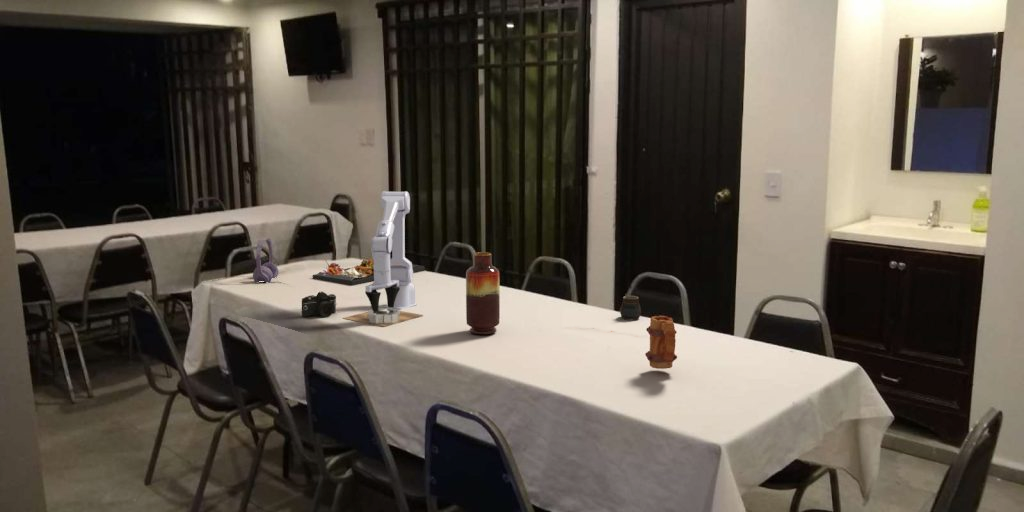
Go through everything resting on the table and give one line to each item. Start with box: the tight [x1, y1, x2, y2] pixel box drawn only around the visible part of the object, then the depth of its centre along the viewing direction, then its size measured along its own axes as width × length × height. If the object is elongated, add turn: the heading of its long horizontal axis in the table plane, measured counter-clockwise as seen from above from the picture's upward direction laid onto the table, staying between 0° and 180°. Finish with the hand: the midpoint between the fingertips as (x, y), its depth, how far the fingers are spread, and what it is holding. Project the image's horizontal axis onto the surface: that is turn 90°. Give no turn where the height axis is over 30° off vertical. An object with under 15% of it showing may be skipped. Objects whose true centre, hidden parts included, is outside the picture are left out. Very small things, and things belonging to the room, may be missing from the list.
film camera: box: [301, 291, 338, 318], centre depth 293 cm, size 13×8×10 cm, turn 130°
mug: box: [645, 315, 678, 370], centre depth 229 cm, size 15×8×15 cm, turn 5°
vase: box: [465, 251, 501, 335], centre depth 272 cm, size 11×11×26 cm
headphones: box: [252, 237, 279, 283], centre depth 357 cm, size 18×8×20 cm, turn 179°
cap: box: [376, 308, 390, 314], centre depth 287 cm, size 5×5×4 cm
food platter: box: [312, 258, 426, 287], centre depth 367 cm, size 45×25×10 cm, turn 144°
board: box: [342, 310, 424, 328], centre depth 293 cm, size 20×20×1 cm
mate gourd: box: [619, 293, 642, 320], centre depth 289 cm, size 7×8×10 cm
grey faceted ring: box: [366, 307, 401, 324], centre depth 287 cm, size 11×11×3 cm
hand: (383, 309), depth 287 cm, fingers open, 7 cm apart
